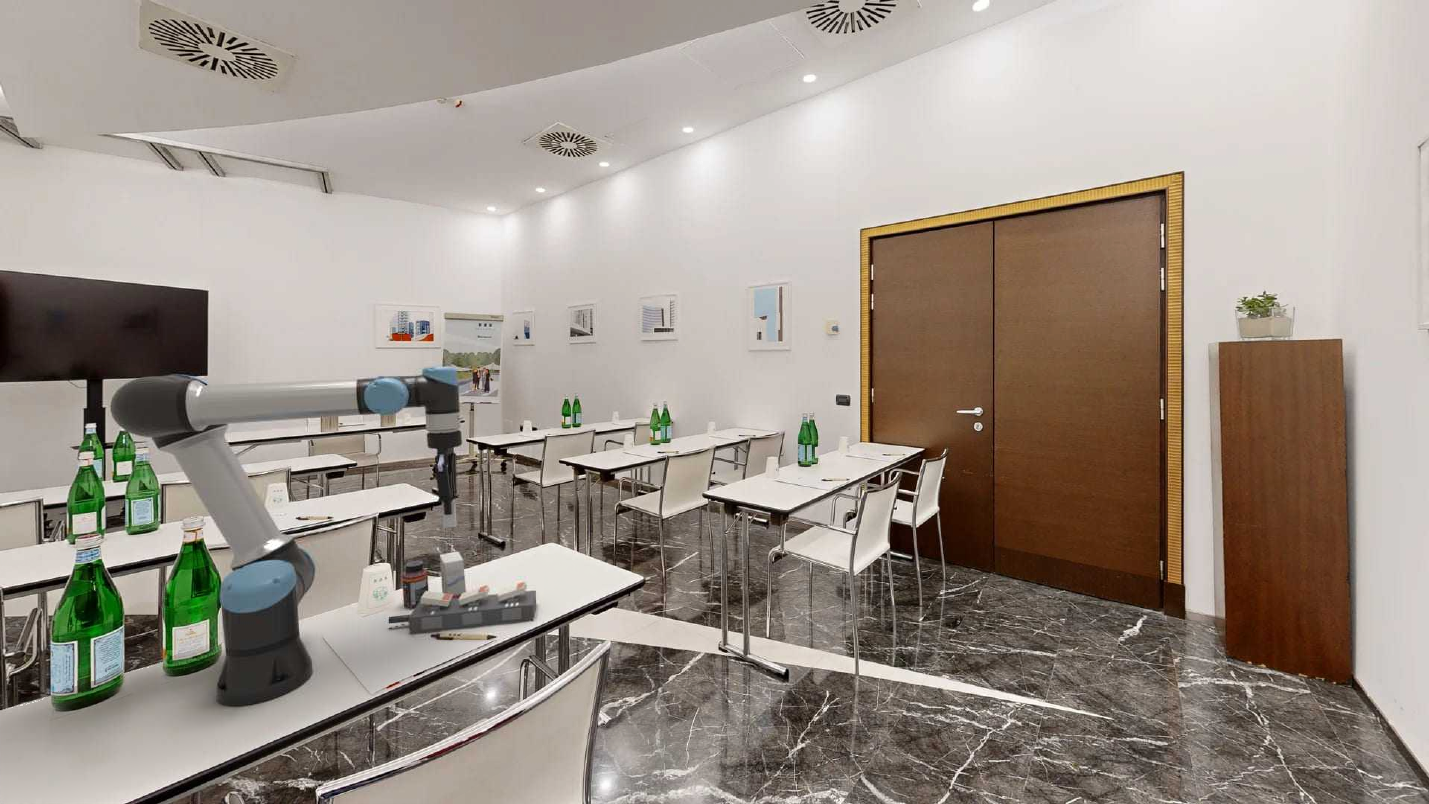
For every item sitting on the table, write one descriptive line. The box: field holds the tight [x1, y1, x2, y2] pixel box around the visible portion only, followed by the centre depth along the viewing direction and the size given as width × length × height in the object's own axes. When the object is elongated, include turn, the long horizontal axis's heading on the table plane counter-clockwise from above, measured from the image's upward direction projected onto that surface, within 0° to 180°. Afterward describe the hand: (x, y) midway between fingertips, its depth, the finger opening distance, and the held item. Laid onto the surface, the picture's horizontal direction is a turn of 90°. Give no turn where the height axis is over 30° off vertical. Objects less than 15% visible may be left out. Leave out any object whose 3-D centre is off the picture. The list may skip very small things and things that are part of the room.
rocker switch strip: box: [388, 590, 537, 635], centre depth 141 cm, size 34×9×5 cm, turn 103°
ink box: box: [439, 551, 467, 599], centre depth 153 cm, size 9×5×12 cm, turn 34°
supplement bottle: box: [401, 560, 429, 610], centre depth 150 cm, size 6×6×11 cm
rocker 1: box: [420, 590, 453, 607], centre depth 139 cm, size 6×4×2 cm, turn 104°
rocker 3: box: [497, 581, 528, 601], centre depth 143 cm, size 6×4×2 cm, turn 102°
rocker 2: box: [459, 584, 490, 605], centre depth 141 cm, size 6×4×2 cm, turn 102°
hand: (450, 526), depth 139 cm, fingers closed
